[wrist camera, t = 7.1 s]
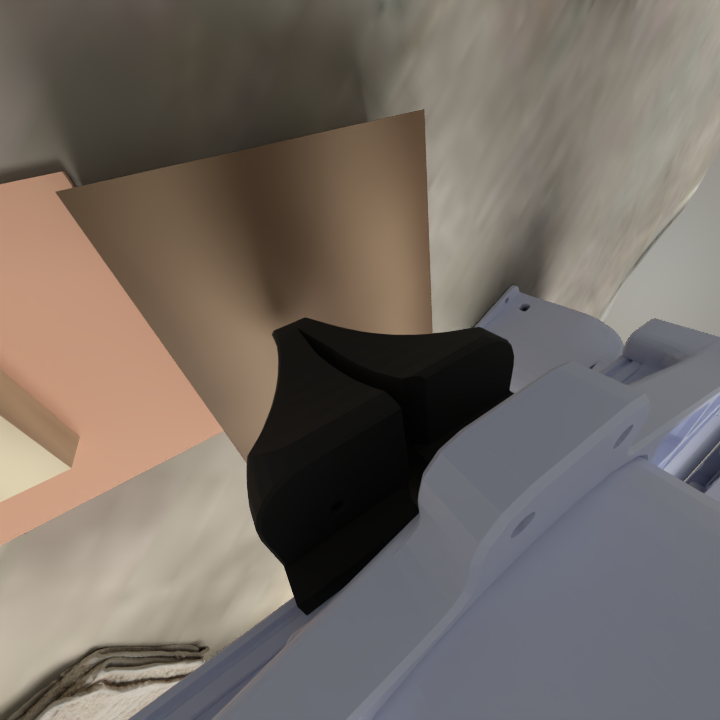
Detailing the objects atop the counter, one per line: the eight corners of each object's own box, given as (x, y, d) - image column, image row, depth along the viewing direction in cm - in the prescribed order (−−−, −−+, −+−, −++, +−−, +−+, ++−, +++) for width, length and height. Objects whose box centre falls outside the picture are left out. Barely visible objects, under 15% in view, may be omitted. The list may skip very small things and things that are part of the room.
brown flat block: (368, 122, 14) (424, 109, 11) (395, 332, 22) (433, 357, 19) (82, 186, 11) (54, 191, 8) (230, 414, 18) (246, 462, 15)
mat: (64, 171, 10) (61, 171, 10) (231, 422, 18) (232, 426, 18) (-579, 304, 6) (-615, 311, 6) (-16, 547, 14) (-20, 555, 14)
